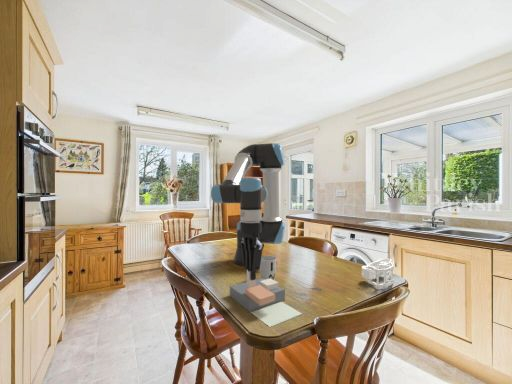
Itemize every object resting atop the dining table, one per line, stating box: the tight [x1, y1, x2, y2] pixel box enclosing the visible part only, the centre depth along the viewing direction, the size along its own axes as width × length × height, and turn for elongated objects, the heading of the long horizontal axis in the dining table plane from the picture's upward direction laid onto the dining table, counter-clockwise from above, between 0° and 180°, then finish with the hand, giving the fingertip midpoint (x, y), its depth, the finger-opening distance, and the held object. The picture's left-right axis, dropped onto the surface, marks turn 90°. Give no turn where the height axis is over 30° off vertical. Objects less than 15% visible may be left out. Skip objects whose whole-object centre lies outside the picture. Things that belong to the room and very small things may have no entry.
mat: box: [250, 301, 303, 328], centre depth 76 cm, size 10×13×1 cm
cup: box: [258, 255, 278, 281], centre depth 104 cm, size 8×8×10 cm
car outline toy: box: [361, 258, 395, 288], centre depth 105 cm, size 20×11×7 cm, turn 127°
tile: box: [245, 285, 275, 306], centre depth 79 cm, size 9×6×2 cm, turn 34°
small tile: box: [259, 278, 279, 291], centre depth 87 cm, size 5×5×2 cm
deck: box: [229, 277, 286, 313], centre depth 87 cm, size 14×15×4 cm
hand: (251, 288), depth 83 cm, fingers closed
